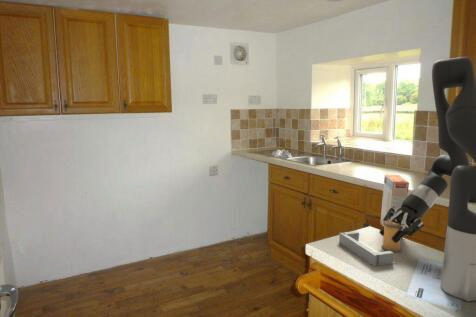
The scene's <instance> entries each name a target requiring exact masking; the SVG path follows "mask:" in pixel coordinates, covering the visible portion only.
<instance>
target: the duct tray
mask: <svg viewBox="0 0 476 317" xmlns="http://www.w3.org/2000/svg"><path fill="white" fill-rule="evenodd" d="M338 243H339V244H341V245H342V246H344V247H345V248H346V249H348V250H350V251H351V252H352V253H354V254H355V255H357V256H358V257H360V258H361V259H363V260H364V261H365V262H367V263H369V264H370V265H371V266H372V267H380V266H385V265H394V264H397V262H396V261H395V260H394V253H393V252H391V251H385V250H383V251H378V250H377V249H374V248H373V247H371V246H370V245H368V244H367V243H365V242H363V241H362V240H360V232H359V231H355V230H354V231H346V232H339V237H338Z"/></svg>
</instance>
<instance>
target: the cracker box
mask: <svg viewBox="0 0 476 317" xmlns="http://www.w3.org/2000/svg"><path fill="white" fill-rule="evenodd" d="M409 188H410V182H409V181H407V180H406V178H403V177H402V176H401V175H398V174H384V180H383V192H382V200H381V212H380V223H379V224H380V225H381V227H382V228H383V227H384V224H383V222H384V221H383V219H384V218H385V216H386V214H387V213H388V211H389V210H390V208H393V209H394V210H398V209H399V208H401V207H402V202H403V201H404V200H405V199H406V198H407V197H408V196H409ZM388 219H389V218H388ZM395 221H397V220H396V219H395Z"/></svg>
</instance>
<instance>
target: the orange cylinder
mask: <svg viewBox="0 0 476 317" xmlns="http://www.w3.org/2000/svg"><path fill="white" fill-rule="evenodd" d="M383 224H384V225H385V226H384V236H382V237H383V240H382V245H381V249H382V250H383V251H391V252H393V253H395V254H397V253H400V252H401V250H402V249H401V247H400V246H401V240H400V241H398V242H397V243H395V242H393V241H392V239H391V238H392V237H393V236H394V235H395V234H396V232H397V231H398V230H399V231H400V228H402V226H401V223H400V222H397V221H384V222H383Z"/></svg>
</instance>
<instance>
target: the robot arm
mask: <svg viewBox="0 0 476 317" xmlns="http://www.w3.org/2000/svg"><path fill="white" fill-rule="evenodd" d="M473 64H474V63H473V61H472V60H471V58H470V57H468V56H459V57H452V58H444V59H438V60H436V61H435V62H434V63H433V65H432V70H431V83H432V89H433V90H432V91H433V97H434V98H433V99H434V105H435V106H434V107H435V111H436V117H437V128H438V133H437V135H438V147H439V149H441V150H442V151H444V152H446V153H447V154H440V155H438V156H437V157H436V158H435V159H434V160H433V161H432V164H431V167H430V169H429V170H428V172H427V175H426V177H424V178H423V180H422V181H421V182H420V184H419V185H417V186H416V187H415V188H414V189H413V190H412V191H411V192H410V193H409V194H408V197H407V198H406V199H405V200H404V201H403V202H402V207H401V208H399V209H398V210H394V209H393V208H390V210H389V211H388V213H387V214H386V216H385V218H384V219H383V221H395V219H396V220H397V222H400V223H401V226H402V228H400V231H399V230H398V231H397V232H396V234H395V235H394V236H393V237H392V238H391V239H392V241H393V242H395V243H397V242H398V241H400V242H401V240H402V239H403V237H404V236H408V237H412V236H413V235H414V234H416V233H417V232H418V231H419V230H421V228H423V227H424V226H425V224H424V222H423V220H421V219H422V218H423V217H424V216H425V215H426V213H427V212H428V211H429V210H430V209H431V208H432V207H433V206H434V205H435V203H437V200H438V198H439V197H441V195H442V194H443V193H444V192H445V191H446V190H447V188H448V182H447V181H446V179H445V178H444V177H443V176H447V177H450V179H449V180H450V181H449V182H450V183H449V198H448V199H449V201H448V210H447V212H448V213H447V214H448V216H447V224H446V225H447V226H446V234H445V242H444V251H443V259H442V268H441V276H440V288H441V289H442V291H444V292H445V293H446V294H448V295H450V296H453V297H455V298H458V299H461V300H464V301H466V302H473V301H476V212H473V211H472V210H471V209H469V206H468V205H469V204H476V165H470V161H469V158H468V156H470V158H471V159H472V160H473V161H474V163H475V164H476V74H475V67H474V65H473ZM453 88H461V90H460V93H458V95H457V96H456V97H455V99H454V100H453V101H452V102H451V104H450V103H449V101H448V99H447V97H446V93H445V90H446V89H453ZM388 218H389V219H388ZM384 226H385V225H384ZM379 234H380V235H381V236H382V237H384V227H382V228H381V229H379Z"/></svg>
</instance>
